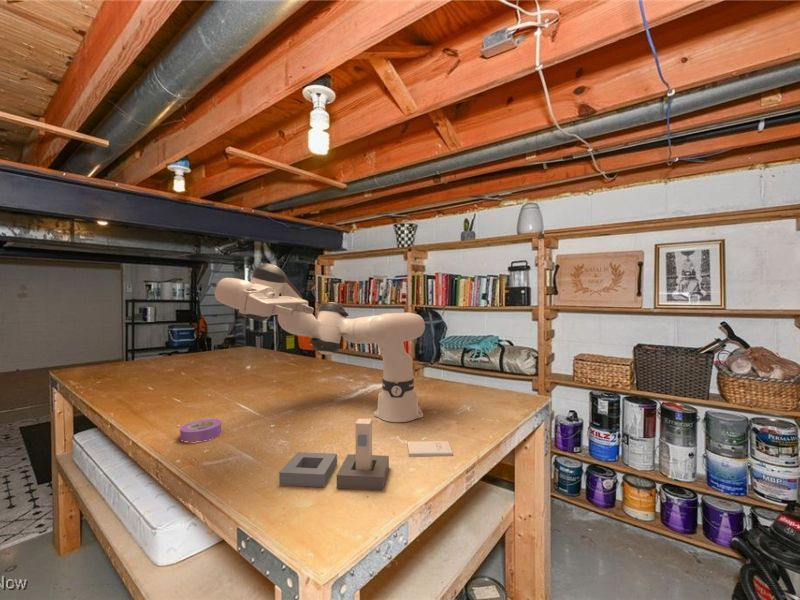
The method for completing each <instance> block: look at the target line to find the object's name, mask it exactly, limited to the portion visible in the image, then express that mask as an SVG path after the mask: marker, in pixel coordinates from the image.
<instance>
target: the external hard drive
mask: <svg viewBox="0 0 800 600" xmlns="http://www.w3.org/2000/svg"><path fill="white" fill-rule="evenodd" d="M406 443H407V445H406V447H407V451H408V452H407V453H408V457H410V458H411V457H414V458H415V457H416V458H417V457H449V456H450V455H451V456H450V457H452V455H453V451H452V448H451V446H450V444H449V441H448V440H445V441H444V440H443V441H440V440H439V441H438V440H436V441H434V440H432V441H431V440H430V441H407V442H406ZM453 456H454V455H453Z"/></svg>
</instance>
